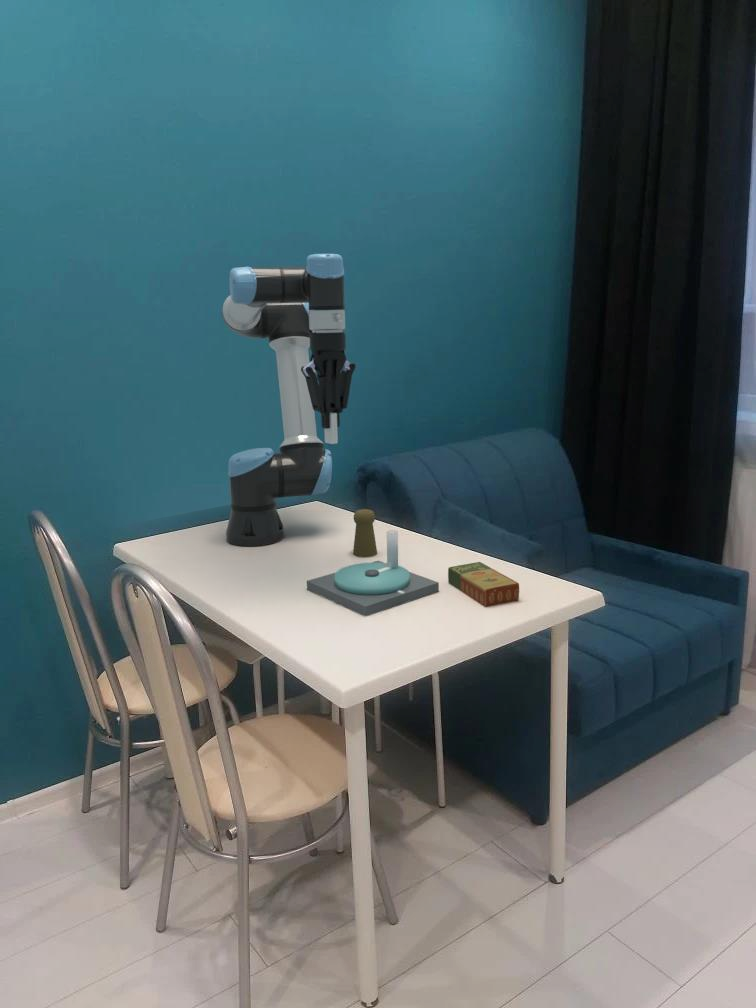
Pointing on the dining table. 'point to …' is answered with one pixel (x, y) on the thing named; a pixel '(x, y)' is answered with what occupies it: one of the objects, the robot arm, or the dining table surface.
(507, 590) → the carton
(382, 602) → the base plate
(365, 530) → the cork
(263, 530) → the robot arm
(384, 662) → the dining table surface
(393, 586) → the dial
